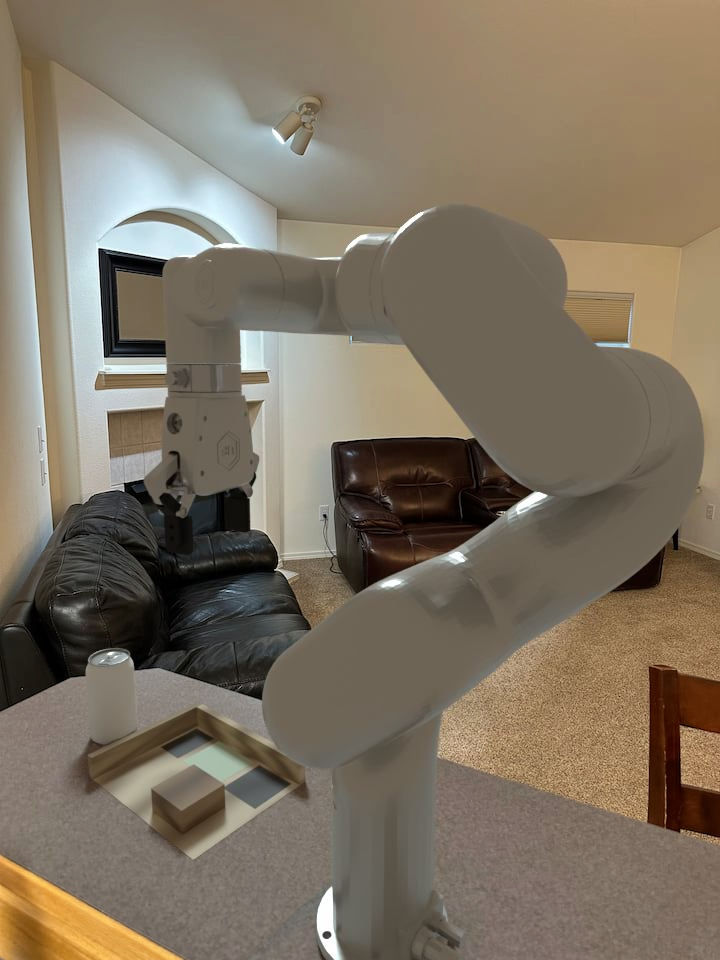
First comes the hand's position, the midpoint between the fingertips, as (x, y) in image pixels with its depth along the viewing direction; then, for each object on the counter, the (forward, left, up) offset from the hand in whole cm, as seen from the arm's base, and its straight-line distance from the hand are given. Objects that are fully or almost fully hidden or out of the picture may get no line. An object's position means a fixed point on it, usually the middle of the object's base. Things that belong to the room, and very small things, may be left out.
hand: (210, 541), depth 70 cm
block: (+3, +2, -33) cm, 33 cm away
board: (+7, -2, -34) cm, 35 cm away
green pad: (+8, -6, -34) cm, 35 cm away
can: (+26, -1, -34) cm, 43 cm away
